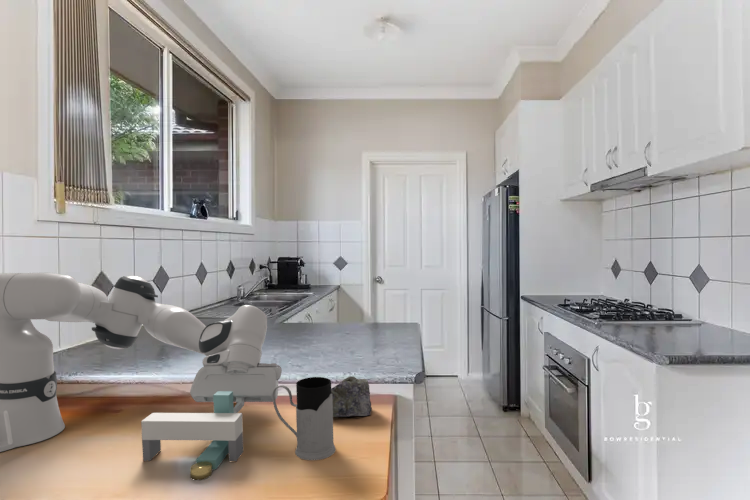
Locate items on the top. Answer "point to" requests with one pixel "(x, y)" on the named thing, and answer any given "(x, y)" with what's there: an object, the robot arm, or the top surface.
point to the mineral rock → (351, 398)
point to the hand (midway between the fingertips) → (228, 418)
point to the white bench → (192, 430)
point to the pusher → (218, 447)
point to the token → (201, 470)
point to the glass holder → (312, 418)
